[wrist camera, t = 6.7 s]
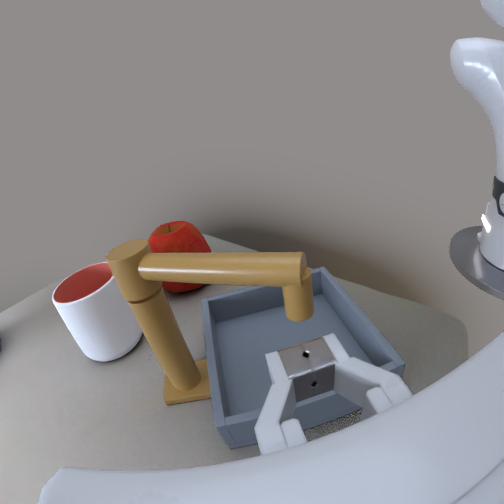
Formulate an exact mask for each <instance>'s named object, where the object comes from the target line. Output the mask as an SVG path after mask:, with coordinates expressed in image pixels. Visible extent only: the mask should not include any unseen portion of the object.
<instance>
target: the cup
mask: <svg viewBox="0 0 504 504" xmlns="http://www.w3.org/2000/svg"><path fill="white" fill-rule="evenodd" d="M52 301H53V303H54V305H55V307H56V308H57V310H58V312H59V314H60V316H61V317H62V319H63V321H64V322H65V324H66V326H67V327H68V329H69V331H70V332H71V334H72V335H73V337H74V339H75V340H76V342H77V343H78V345H79V346H80V348H81V349H82V351H83V352H84V354H85V355H86V356H88V357H89V358H91V359H93V360H96V361H111V360H115V359H117V358H120V357H122V356H123V355H125V354H127V353H128V352H129V351H130V350H132V349H133V348H134V347H135V345H136V344H137V343H138V341H139V340H140V337H141V335H142V330H141V328H140V326H139V324H138V322H137V320H136V318H135V316H134V314H133V312H132V310H131V308H130V306H129V304H128V302H127V300H125V299H124V298H123V296H122V294H121V292H120V290H119V288H118V285H117V283H116V281H115V279H114V276H113V274H112V272H111V269H110V267H109V265H108V262H101V263H96V264H93V265H90V266H87V267H85V268H82V269H80V270H78V271H77V272H75V273H73V274H72V275H70V276H69V277H67V278H66V279H65V280H63V281H62V282H61V283H60V284H59V285H58V286H57V288H56V289H55V291H54V293H53V295H52Z"/></svg>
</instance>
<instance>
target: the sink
mask: <svg viewBox="0 0 504 504" xmlns="http://www.w3.org/2000/svg"><path fill="white" fill-rule="evenodd" d="M311 276H312V289H313V303H314V314H313V315H312V317H311V318H309V319H308V320H305V321H301V322H296V321H292V320H290V319H288V318H287V316H286V312H285V305H284V298H283V291H282V287H270V286H251V287H247V288H243V289H239V290H235V291H231V292H227V293H223V294H219V295H215V296H211V297H208V298H203V299H201V302H202V314H203V326H204V337H205V347H206V356H207V366H208V374H209V383H210V391H211V399H212V406H213V413H214V421H215V427H216V429H217V430H218V432H219V433H220V435H221V436H222V438H223V440H224V441H225V443H226V444H227V445H228V447H229V448H230V449H233V448H238V447H243V446H247V445H252V444H256V443H258V441H257V438H256V434H255V430H254V427H255V425H256V423H257V420H258V418H259V415H260V413H261V411H262V408H263V406H264V403H265V401H266V398H267V396H268V393H269V391H270V388H271V385H272V381H271V377H270V373H269V370H268V365H267V361H266V356H265V354H268V353H271V352H275V351H278V350H282V349H286V348H289V347H293V346H296V345H300V344H302V343H305V342H308V341H311V340H314V339H317V338H320V337H323V336H326V335H329V334H331V333H333V334H335V335H336V337H337V338H338V340H339V341H340V343H341V344H342V346H343V348H344V349H345V351H346V352H347V354H348V355H349V357H350V358H351V357H355V358H358V359H360V360H362V361H365V362H367V363H370V364H372V365H374V366H377V367H379V368H382V369H384V370H387V371H389V372H392V373H395V374H397V375H399V376H400V378H401V375H402V372H403V369H404V366H405V362H404V360H403V359H402V358H401V357H400V355H399V354H398V353H397V352H396V351H395V349H394V348H393V347H392V346H391V344H390V343H389V342H388V341H387V340H386V338H385V337H384V336H383V335H382V333H381V332H380V331H379V330H378V329H377V327H376V326H375V325H374V324H373V323H372V321H371V320H370V319H369V318H368V317H367V316H366V314H365V313H364V312H363V311H362V310H361V308H360V307H359V306H358V305H357V304H356V303H355V301H354V300H353V299H352V298H351V297H350V296H349V295H348V293H347V292H346V291H345V290H344V289H343V288H342V286H341V285H340V284H339V283H338V282H337V281H336V280H335V279H334V277H333V276H332V275H331V274H330V273H329V272H328V271H327V270H326V268H325V267H321V268H317V269H314V270H311ZM361 408H362V407H360V406H358V405H357V404H355V403H353V402H352V401H350V400H348V399H347V398H345V397H343V396H342V395H340V394H338V393H337V392H335V391H334V390H332V391H329V392H326V393H323V394H320V395H317V396H314V397H311V398H308V399H305V400H303V401H300V402H297V403H296V407H295V411H294V415H293V418H294V419H298V420H299V423H300V425H301V428H302V430H306V429H309V428H312V427H315V426H318V425H321V424H323V423H326V422H329V421H332V420H334V419H337V418H339V417H342V416H345V415H347V414H349V413H352V412H354V411H357V410H359V409H361ZM293 418H292V419H293Z"/></svg>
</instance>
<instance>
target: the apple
mask: <svg viewBox="0 0 504 504" xmlns="http://www.w3.org/2000/svg"><path fill="white" fill-rule="evenodd" d="M148 242H149V245H150V248H151V251H152V253H212V252H211V249H210V247H209V245H208V244H207V242H206V240H205V239H204V237H203V236H202V234H201V233H200V232H199V230H198V229H197V228H196V227H194V225H192V224H191V223H188V222H185V221H176V222H170V223H166V224H163V225H160V226H159V227H158V228H157V229H156V230H155V231H154V232H153V233H152V234H151V236H150V237H149V240H148ZM202 285H204V284H202V283H185V282H169V281H162V287H163V288H164V289H166V290H168V291H171V292H175V293H178V292H186V291H190V290H194V289H198V288H200V287H201V286H202Z"/></svg>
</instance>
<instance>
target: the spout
mask: <svg viewBox="0 0 504 504" xmlns="http://www.w3.org/2000/svg"><path fill="white" fill-rule="evenodd" d="M106 260H107V262H108V265H109V267H110V269H111V272H112V274H113V276H114V279H115V281H116V283H117V285H118V288H119V290H120V292H121V294H122V296H123V298H124V299H125V300H127V301H138V300H142V299H145V298H147V297H149V296H151V295H153V294H154V293H156V292H157V291H158V290H159V289H160V287H161V286H162V281H169V282H185V283H202V284H221V285H243V286H270V287H282V291H283V298H284V305H285V312H286V316H287V318H288V319H290V320H292V321H296V322H301V321H305V320H308V319H309V318H311V317H312V315H313V314H314V303H313V289H312V276H311V270H310V269H309V268H308V267H307V263H306V256H305V253H304V252H234V253H152V251H151V248H150V245H149V242H148V240H146V239H135V240H131V241H128V242H125V243H123V244H121V245H118V246H117V247H115V248H114V249H112V250H111V251H110V252H109V253H108V254H107V256H106Z"/></svg>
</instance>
